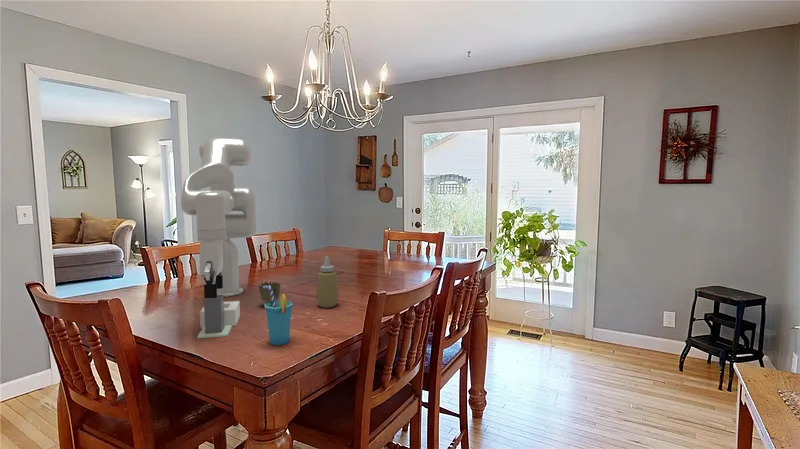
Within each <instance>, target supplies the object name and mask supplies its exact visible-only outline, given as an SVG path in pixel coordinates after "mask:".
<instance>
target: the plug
mask: <svg viewBox="0 0 800 449" xmlns="http://www.w3.org/2000/svg"><path fill="white" fill-rule="evenodd" d="M224 302H225V301H224V297H223V295H217V297H216V298H204V299H203V307H204V313H205V334H207V333H221V332H222V331H223V329H224Z"/></svg>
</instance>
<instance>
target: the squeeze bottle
mask: <svg viewBox="0 0 800 449" xmlns="http://www.w3.org/2000/svg"><path fill="white" fill-rule="evenodd" d="M334 270H335V268H334V265H331V260H330V256H329V255H325V257H324V261H323V265H321V266H320V272H318V274H317V279H316V280H317V282H316V294H315V298H316V300H317V304H318V306H319V307H320V308H326V309H327V308H333V307H336V305H337V302H338V299H339V296H340V295H339V287H338V275H337V273H336V271H334Z"/></svg>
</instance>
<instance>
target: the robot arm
mask: <svg viewBox="0 0 800 449" xmlns="http://www.w3.org/2000/svg"><path fill="white" fill-rule="evenodd" d="M198 150H199V151H198V152H199V156H200V159H201V166H200V167H198V168H197V169H196V170H194V171H193V172H192V173H190V175H188V176H187V177H186V178H185V180H184V182H183V185H182V190H181V196H180V206H181V209H182V211H183V213H184V214H186V215H188V216H196V237H197V238H196V239H197V242H199V243H200V244H199V276H200V277H204V278H203V292H204V293H203V294H204V297H203V298H204V299H205V298H216V297H217V295H223V298H224V297H226V298H227V297H233V296H237V295H241V294H242V293H244V287H241V286H240V283H239V282H240V279H239V277H240V276H239V251H238V246H236V244H235V242H234V241H232V240H231V239H238V238H239V239H243V238H247V239H248V238H251V237H254V236H255V235H256V231H257V212H256V198H255V192H254V190H253V189H252V188H251V187H249V186H236V185H235V175H234V172H233V171H232V169H231V168H230V166H231V167H238V166H239V167H245V166H248V165H249V164H250V163H251V156H252V155H251V149H250V146H249V144H248V142H247V141H246V140H244V139H242V138H232V137H212V138H209V139H207V140H206V141H205V142H203V143H201V144H200V145H199V148H198ZM208 187H210V189H205V188H208ZM231 212H242V213H231Z"/></svg>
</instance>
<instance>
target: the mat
mask: <svg viewBox="0 0 800 449" xmlns="http://www.w3.org/2000/svg"><path fill="white" fill-rule="evenodd" d="M232 328H233V326H232V325H225V326H224V329H223V331H222V332H221V333H207V334H205V327H203V328H201V330H200V331H199V333H198V335H197V339H206V338H218V337H219V338H220V337H229V334H230V332H231V330H232Z"/></svg>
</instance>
